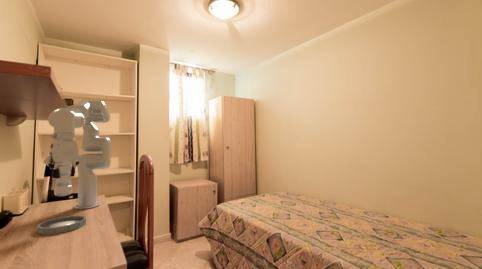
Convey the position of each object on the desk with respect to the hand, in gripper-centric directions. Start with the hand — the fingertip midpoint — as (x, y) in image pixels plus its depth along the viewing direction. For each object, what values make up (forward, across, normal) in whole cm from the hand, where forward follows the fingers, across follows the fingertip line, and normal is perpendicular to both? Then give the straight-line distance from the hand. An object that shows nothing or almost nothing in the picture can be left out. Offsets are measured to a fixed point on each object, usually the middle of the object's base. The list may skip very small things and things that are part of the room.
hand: (63, 176), depth 103 cm
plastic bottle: (+9, 0, 0) cm, 9 cm away
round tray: (+22, 0, 0) cm, 22 cm away
